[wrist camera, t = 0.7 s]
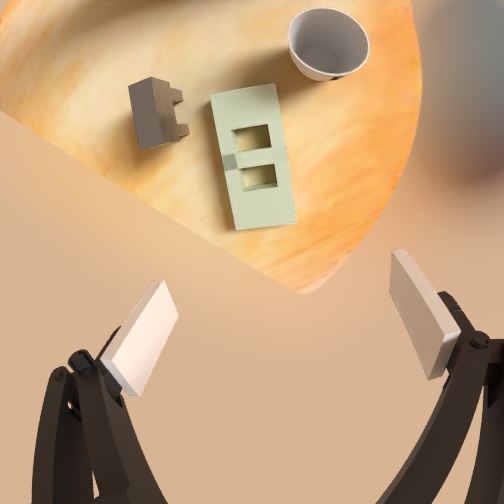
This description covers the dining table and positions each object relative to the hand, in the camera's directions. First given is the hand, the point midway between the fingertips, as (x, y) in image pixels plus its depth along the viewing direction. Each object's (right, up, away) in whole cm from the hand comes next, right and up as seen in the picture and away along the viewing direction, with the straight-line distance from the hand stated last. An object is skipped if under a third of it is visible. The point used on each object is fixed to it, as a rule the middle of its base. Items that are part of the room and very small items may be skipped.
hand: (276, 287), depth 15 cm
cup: (+7, +26, +13) cm, 30 cm away
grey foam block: (-12, +21, +18) cm, 30 cm away
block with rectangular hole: (-1, +15, +19) cm, 24 cm away
